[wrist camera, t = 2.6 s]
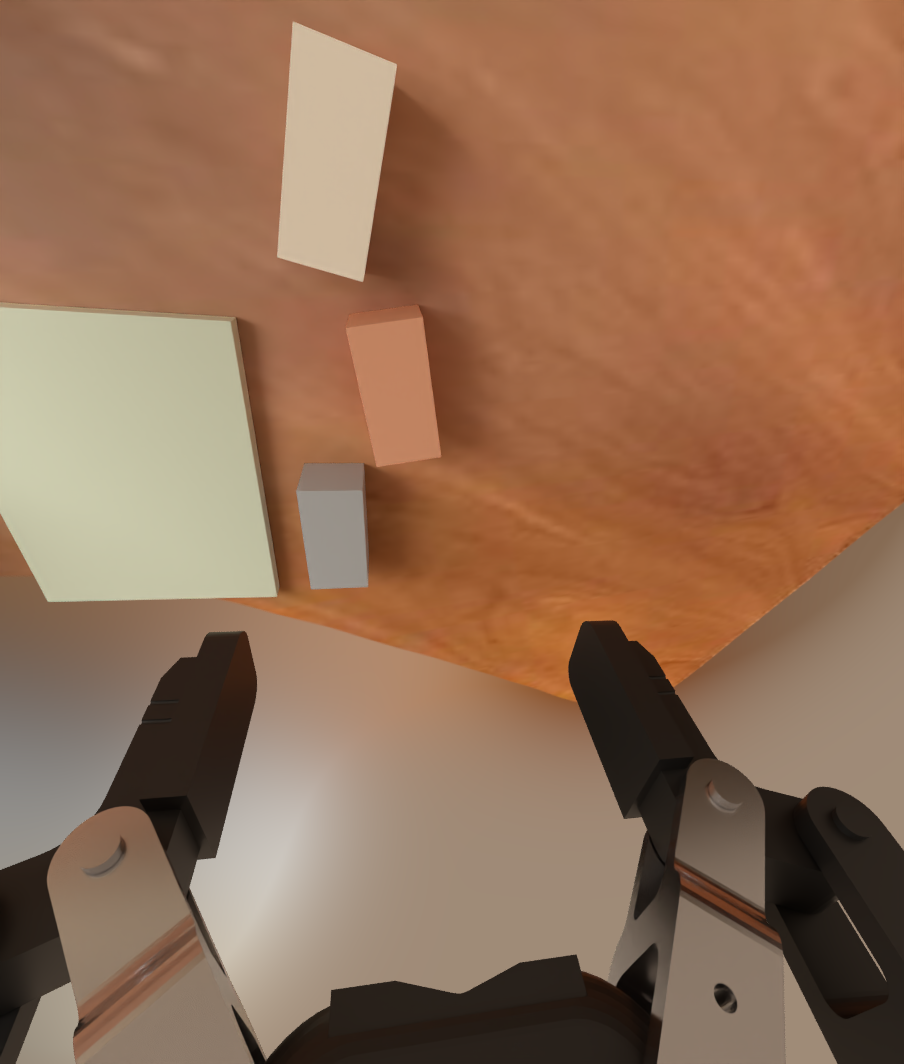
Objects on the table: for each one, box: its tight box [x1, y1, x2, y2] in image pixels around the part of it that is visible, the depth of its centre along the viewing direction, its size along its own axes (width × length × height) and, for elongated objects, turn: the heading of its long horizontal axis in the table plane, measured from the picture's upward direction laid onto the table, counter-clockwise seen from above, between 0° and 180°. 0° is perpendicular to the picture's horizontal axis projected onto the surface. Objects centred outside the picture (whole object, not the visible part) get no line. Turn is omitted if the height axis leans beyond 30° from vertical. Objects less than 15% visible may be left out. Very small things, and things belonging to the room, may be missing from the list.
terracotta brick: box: [346, 304, 441, 467], centre depth 28 cm, size 8×4×4 cm, turn 6°
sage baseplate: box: [0, 302, 280, 602], centre depth 30 cm, size 20×16×1 cm
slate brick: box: [296, 463, 369, 589], centre depth 33 cm, size 8×4×4 cm, turn 177°
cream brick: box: [277, 22, 397, 282], centre depth 22 cm, size 8×4×4 cm, turn 164°
